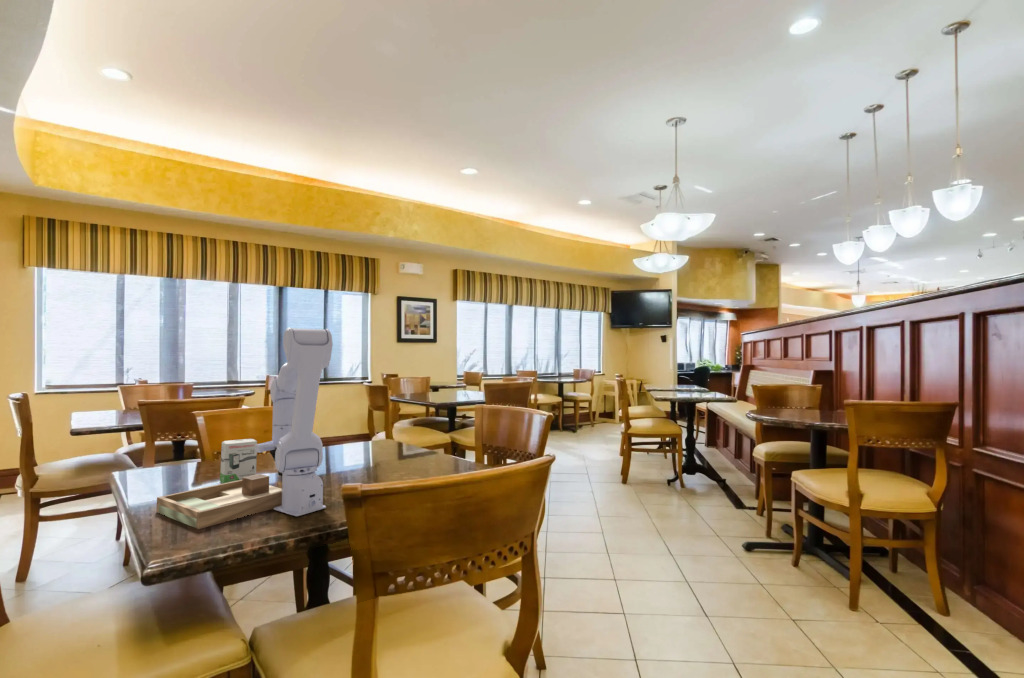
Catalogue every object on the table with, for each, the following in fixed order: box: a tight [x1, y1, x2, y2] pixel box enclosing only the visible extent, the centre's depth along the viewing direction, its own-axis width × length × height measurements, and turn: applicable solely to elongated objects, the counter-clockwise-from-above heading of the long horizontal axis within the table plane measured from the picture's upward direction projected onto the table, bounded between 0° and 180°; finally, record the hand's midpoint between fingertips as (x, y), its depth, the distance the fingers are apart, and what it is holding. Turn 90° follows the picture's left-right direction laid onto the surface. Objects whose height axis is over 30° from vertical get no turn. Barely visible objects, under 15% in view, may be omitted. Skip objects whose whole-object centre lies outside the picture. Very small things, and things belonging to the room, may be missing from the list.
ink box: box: [219, 438, 258, 484], centre depth 144 cm, size 9×5×12 cm, turn 132°
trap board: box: [156, 480, 282, 530], centre depth 120 cm, size 20×24×4 cm
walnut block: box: [242, 473, 270, 496], centre depth 125 cm, size 4×4×4 cm
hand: (283, 475), depth 131 cm, fingers closed
